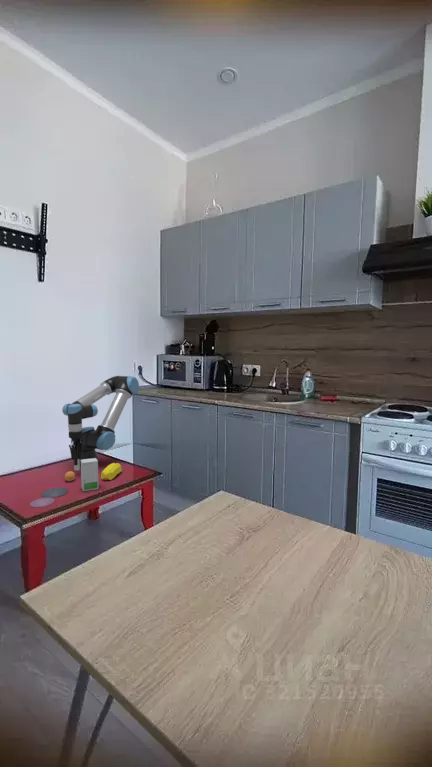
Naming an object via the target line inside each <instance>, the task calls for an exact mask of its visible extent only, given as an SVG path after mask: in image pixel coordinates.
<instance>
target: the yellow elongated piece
mask: <svg viewBox="0 0 432 767" xmlns="http://www.w3.org/2000/svg"><path fill="white" fill-rule="evenodd" d="M122 471H123V469H122V465H121V464H120V463H119V462H116V463H115V462H112V463H110V464H108V465H107V466H106V467H105V468H104V469H103V470H102V471H101V473H100V478H101V480H103V481H108V480H110V481H113V479H115V477H116V476H117V474H118V475H119V474H120V473H121V472H122Z"/></svg>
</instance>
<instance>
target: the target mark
mask: <svg viewBox="0 0 432 767" xmlns="http://www.w3.org/2000/svg"><path fill="white" fill-rule="evenodd" d="M68 493H69V489H68V488H65V487H53V488H48V489H46V490H44V491H43V492H41V494H40V495H41V498H53V499H55V498H58V497H62V496H64V495H66V494H68Z"/></svg>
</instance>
